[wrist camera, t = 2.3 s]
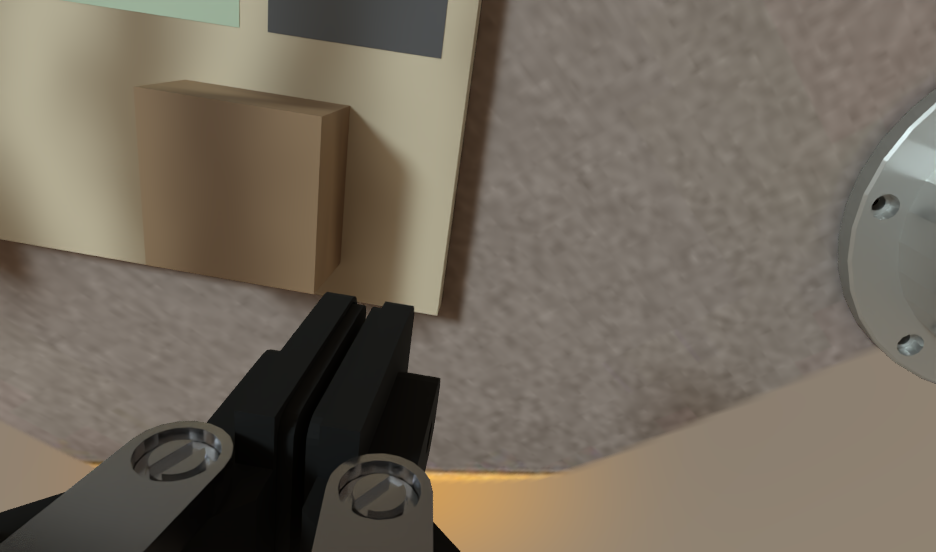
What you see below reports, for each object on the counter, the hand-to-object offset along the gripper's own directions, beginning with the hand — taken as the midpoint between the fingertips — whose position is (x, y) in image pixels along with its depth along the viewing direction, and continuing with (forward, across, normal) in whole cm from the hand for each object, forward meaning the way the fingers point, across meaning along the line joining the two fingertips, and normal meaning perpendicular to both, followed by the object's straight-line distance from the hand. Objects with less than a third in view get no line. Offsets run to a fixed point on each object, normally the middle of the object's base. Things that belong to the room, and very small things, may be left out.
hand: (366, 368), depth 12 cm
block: (+12, +7, 0) cm, 13 cm away
